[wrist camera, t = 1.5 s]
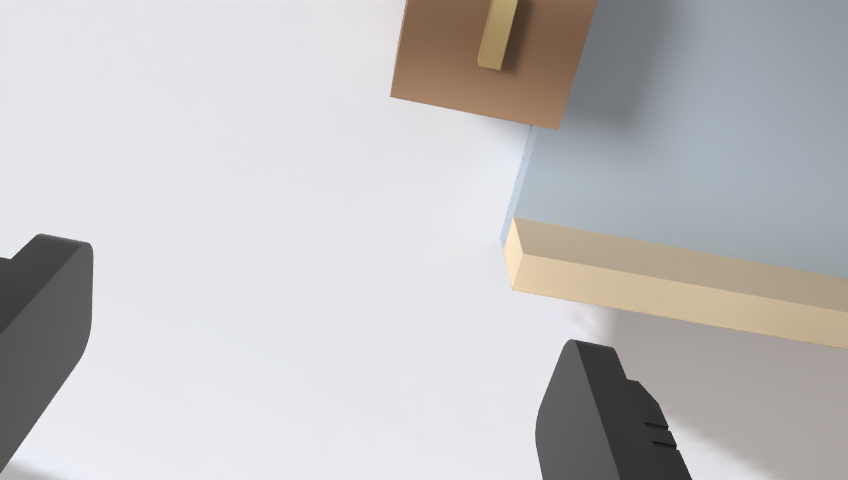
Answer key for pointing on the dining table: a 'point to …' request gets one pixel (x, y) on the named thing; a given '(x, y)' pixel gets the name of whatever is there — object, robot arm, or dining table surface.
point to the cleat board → (697, 169)
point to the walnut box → (492, 56)
